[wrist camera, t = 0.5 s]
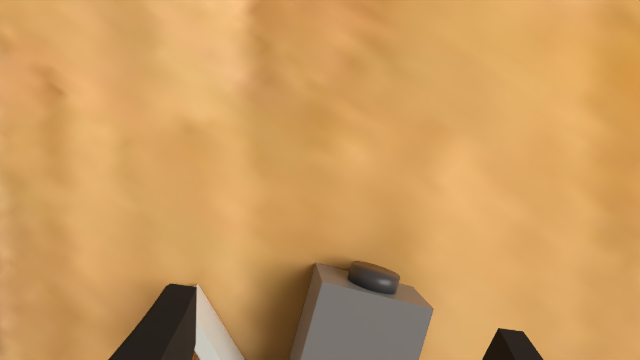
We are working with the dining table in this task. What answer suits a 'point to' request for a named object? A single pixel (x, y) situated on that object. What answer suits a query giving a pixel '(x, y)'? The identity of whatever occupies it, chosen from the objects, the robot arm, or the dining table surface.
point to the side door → (212, 333)
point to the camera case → (360, 316)
